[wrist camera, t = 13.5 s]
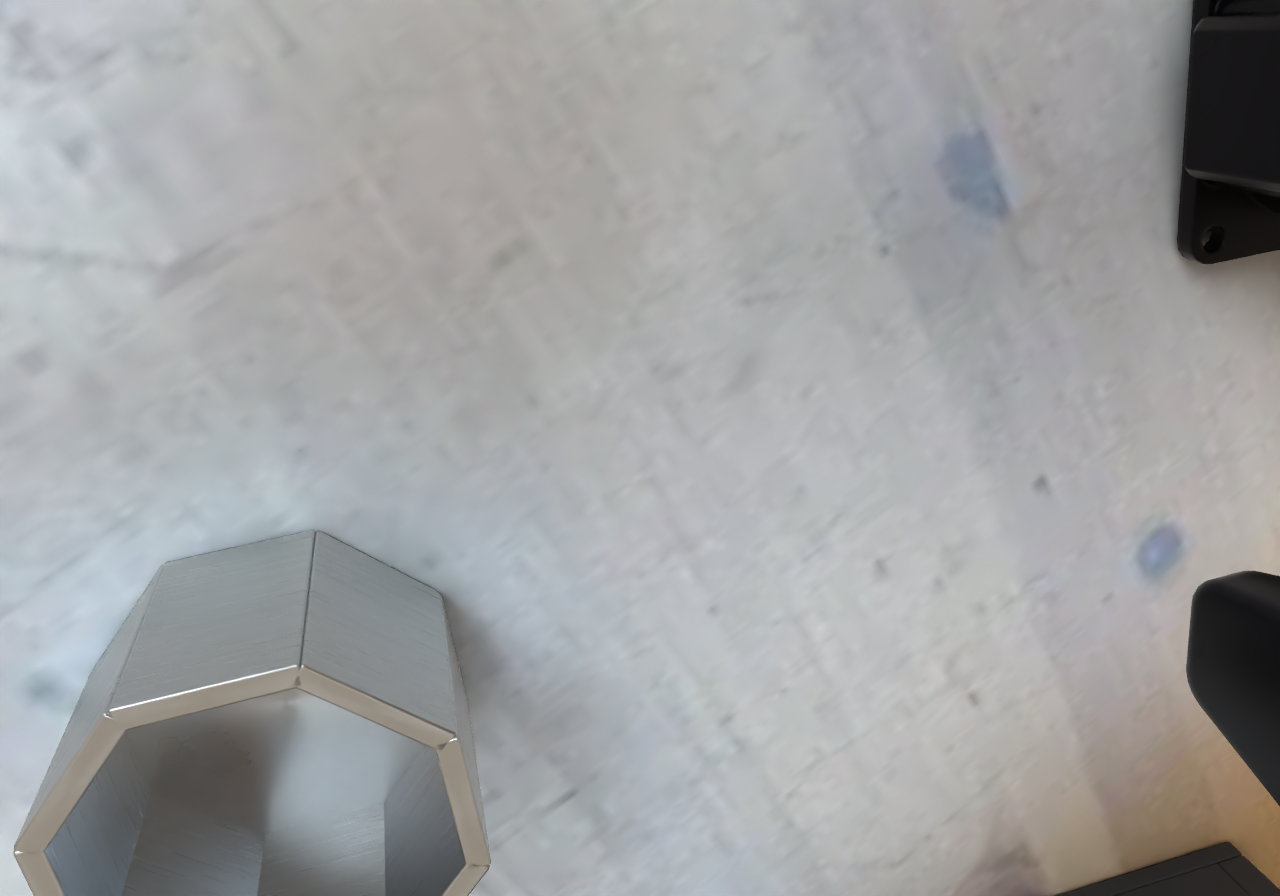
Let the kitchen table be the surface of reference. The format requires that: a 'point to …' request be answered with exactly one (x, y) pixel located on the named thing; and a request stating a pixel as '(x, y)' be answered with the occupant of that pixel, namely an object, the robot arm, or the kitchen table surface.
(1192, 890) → the dark grey tray
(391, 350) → the kitchen table surface
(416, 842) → the octagonal metal cup
